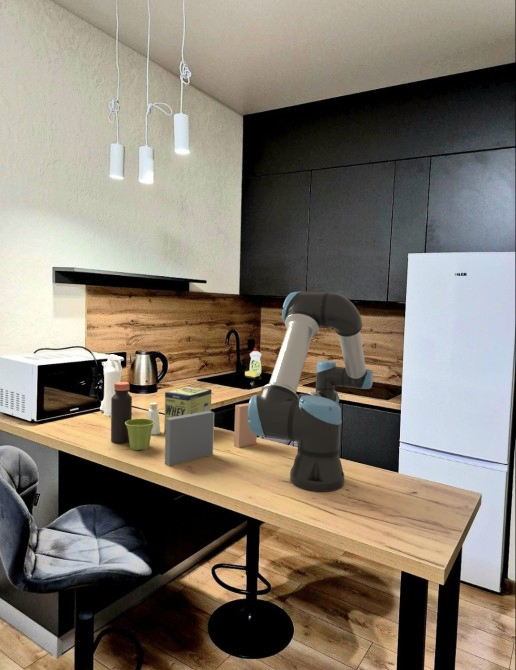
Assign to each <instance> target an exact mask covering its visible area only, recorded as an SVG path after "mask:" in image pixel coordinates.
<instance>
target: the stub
mask: <svg viewBox="0 0 516 670" xmlns="http://www.w3.org/2000/svg"><path fill="white" fill-rule="evenodd" d="M248 405H249V402H247V403H240V404H235V407H234V409H235V410H234V431H233V432H234V435H233V436H234V437H233V438H234V439H233V440H234V441H233V446H234V447H236V448H239V449H240V448H244V447H247V446H251V445H256V444H257V436H258V435H255V434H253V433H252V431H251V430H250V427H249V423H248Z"/></svg>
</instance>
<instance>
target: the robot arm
mask: <svg viewBox="0 0 516 670" xmlns="http://www.w3.org/2000/svg"><path fill="white" fill-rule="evenodd" d="M282 308H283V309H282V310H281V318H282V321H283V323H284V325H285V328H286V332H285V334H284V336H283V337H284V338H283V340H282V343H281V347H280V350H279V353H278V356H277V358H276V361H275V365H274V368H273V369H272V372H271V373H272V374H271V377H270V380H269V382H268V383H267V384H265V385H264V386H262V388H261V391H260V393H259V394H254V395H252V396H251V397H250V399H249V402H248V403H249V405H248V423H249V427H250V430H251V431H252V433H253V434H255V435H257V436H259V437H263V438H269V439H276V440H282V441H283V440H284V441H289V442H296V443H297V453H296V455H295V458H294V462H293V464H292V467H291V468H290V472H289V473H290V476H289V480H290V482H291V483H292V484H293V485H294V486H296V487H297V488H301V489H303V490H308V491H313V492H332V491H333V492H334V491H337V490H339V489H341V488H343V486H344V485H345V473H344V471H343V469H344V468H343V465H342V461H341V458H340V446H341V445H340V444H341V430H342V429H341V427H342V421H343V420H342V408H341V406H340V405H339V402H340V397H339V393H338V392H337V391H336V390H335V389H336V388H335V387H344V388H352V389H360V390H369V389H371V388H372V386H373V382H374V381H373V380H374V372H373V371H372V370H371V369H368V368H366V361H365V354H364V349H363V348H364V347H363V341H362V340H363V339H362V335H361V331H362V330H363V321H362V317H361V314H360V311H359V310H358V309H357V307H356V305H354V303H353V302H352V301H351V300H350V299H348V298H347V297H346V296H344V295H342V294H340V293H337V292H320V291H319V292H316V291H314V292H313V291H302V290H301V291H294V292H290V293H289V294H288V295H287V296H286V298H285V300H284V302H283V305H282ZM320 328H332V329H333V330H334V332H335V333H336V335H338V339H339V344H340V348H341V353H342V357H343V361H344V362H343V363H344V367H342V366H337V363H336V362H335V361H334V360H333V361H332V360H320V361H317V364H316V371H315V376H316V377H315V390H314V391H311V392H305V393H299V394H298V393H297V390H298V387H299V383H300V380H301V376H302V374H303V370H304V365H305V362H306V359H307V356H308V352H309V350H310V345H311V341H312V339H313V337H315V336H316V335H317V334H318V333H319V331H320Z"/></svg>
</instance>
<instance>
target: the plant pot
mask: <svg viewBox="0 0 516 670" xmlns="http://www.w3.org/2000/svg"><path fill="white" fill-rule="evenodd" d="M153 424H154V421H153V420H151V419H148V418H135V419H134V418H132V420H128V421H126V422H125V425H126V426H127V429H128V435H129V449H130V450H132V451H133V450H134V451H139V450H142V451H144V450H147V449H149V448H150V443H151V438H152V435H151V431H152V427H153Z"/></svg>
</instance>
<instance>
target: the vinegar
mask: <svg viewBox="0 0 516 670" xmlns="http://www.w3.org/2000/svg"><path fill="white" fill-rule="evenodd" d="M114 390H115V394H114V395H113V397H112V398H111V416H110V418H111V419H110V441H111V442H112V443H115V444H126V443H128V442H129V435H128V429H127V426H126V425H125V422H126V421H128V420H132V419H133V418H132V417H133V416H132V415H133V413H132V411H133V410H132V409H133V408H132V407H133V403H132V402H133V401H132V400H133V397H132V396H131V394H130V393H129V392H130V383H129V382H128V381H120V382H116V383H114Z"/></svg>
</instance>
